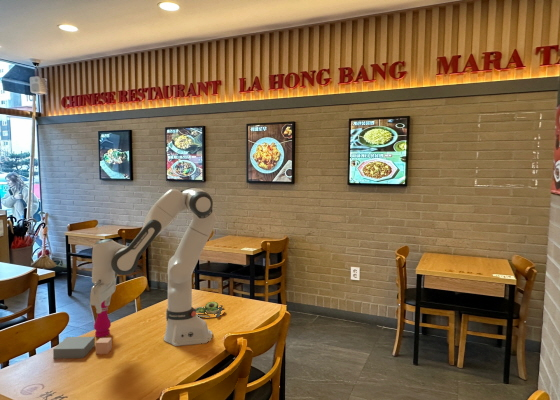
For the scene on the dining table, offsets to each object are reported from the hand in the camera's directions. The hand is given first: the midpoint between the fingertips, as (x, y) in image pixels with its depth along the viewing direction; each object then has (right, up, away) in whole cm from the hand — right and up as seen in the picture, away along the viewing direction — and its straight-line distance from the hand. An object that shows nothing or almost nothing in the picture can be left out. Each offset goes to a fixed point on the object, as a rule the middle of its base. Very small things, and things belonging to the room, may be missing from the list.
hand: (103, 309), depth 166 cm
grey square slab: (-12, -18, 0) cm, 22 cm away
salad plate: (+36, -17, +51) cm, 65 cm away
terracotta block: (0, -19, +1) cm, 19 cm away
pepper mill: (-9, -18, +18) cm, 27 cm away
